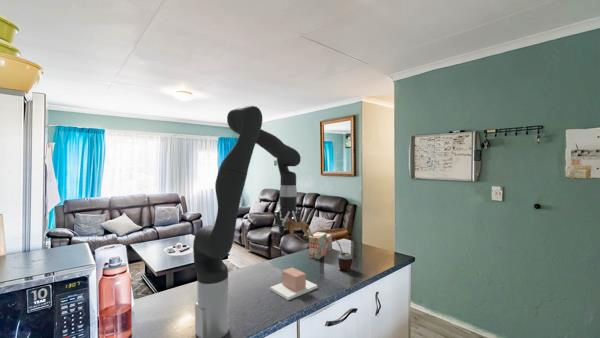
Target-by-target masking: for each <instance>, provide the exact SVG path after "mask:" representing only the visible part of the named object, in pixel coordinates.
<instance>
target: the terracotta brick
mask: <svg viewBox="0 0 600 338" xmlns="http://www.w3.org/2000/svg"><path fill="white" fill-rule="evenodd" d="M281 273H282V274H281V277H282V278H281V280H282V281H281V283H282V285H284V286H286V287H288V288H290V289H291V290H293V291H295V292H297V291H299V290H302V289H304V288H306V280H307V278H306V277H307V273H305V272H303V271H302V270H299V269H297V268H295V267H289V268H286V269H283V270H282V272H281Z"/></svg>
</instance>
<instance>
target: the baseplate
mask: <svg viewBox="0 0 600 338" xmlns="http://www.w3.org/2000/svg"><path fill="white" fill-rule="evenodd" d="M316 289H318V284H315V283H313V282H311V281H309V280H307V279H306V288H304V289H302V290H299V291H297V292H295V291H293V290H291V289H290V288H288V287H286V286H284V285H282V282H280V283H277V284H275V285H273V286H270V289H269V290H270V291H272V292H273V293H275V294H276V295H278V296H280V297H281V298H283V299H284V300H287V301H291V300H293V299H294V298H297V297H299V296H302V295H304V294H307V293H309V292H311V291H314V290H316Z"/></svg>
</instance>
